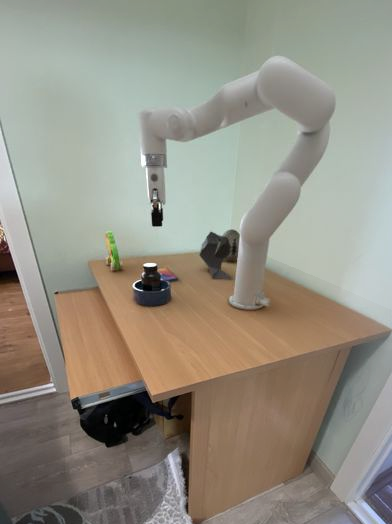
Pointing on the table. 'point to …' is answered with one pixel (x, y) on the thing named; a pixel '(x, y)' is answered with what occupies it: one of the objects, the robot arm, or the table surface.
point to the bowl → (152, 294)
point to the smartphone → (166, 274)
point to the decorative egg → (232, 244)
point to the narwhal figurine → (215, 254)
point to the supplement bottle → (151, 278)
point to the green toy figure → (112, 253)
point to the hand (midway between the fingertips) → (157, 223)
